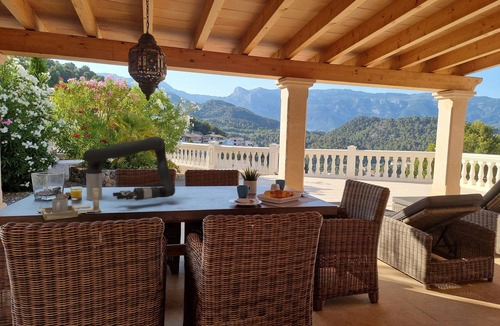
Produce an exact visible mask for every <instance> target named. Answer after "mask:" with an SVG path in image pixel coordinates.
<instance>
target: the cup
mask: <svg viewBox="0 0 500 326" xmlns="http://www.w3.org/2000/svg"><path fill="white" fill-rule="evenodd" d="M68 200H69V199H68V198H67V197H55V198H52V199H51V202H52V203H51V205H52V206H51V207H52V213H60V212H69V211H68V206H69V203H68V202H69V201H68Z"/></svg>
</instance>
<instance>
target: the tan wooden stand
mask: <svg viewBox="0 0 500 326" xmlns="http://www.w3.org/2000/svg"><path fill="white" fill-rule="evenodd" d="M74 206H75V205H73V204H71V205H69V204H68V212H60V213H51V212H52V206H50V207H42V208H41V209H42V213H41V215H42V214H43V215H42V217H43V219H44V221H53V220H60V219H62V220H63V219H67V218H68V219H69V218H78V217H79V214H78V213H86V214H88V213H87V212H95V213H99V212H98V211H101V212H102V209H100V200H99V188H94V189H93V200H92V208H85V209H76V208H75V207H74ZM46 213H48V214H46Z"/></svg>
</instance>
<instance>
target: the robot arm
mask: <svg viewBox="0 0 500 326" xmlns="http://www.w3.org/2000/svg"><path fill="white" fill-rule="evenodd" d="M149 151H154V154H155V157H156V167H157V169H156V170H157V174H158V179H159V182H160V183H162V185H163V186H159V187H158V186H144V187H142V186H141V187H135V188H133V191H132V190H120V191H118V192H113V193H112V197H116V199H117V200H123V199H124V200H127V201H128V200H135V201H143V200H144V201H145V200H150V199H158V198H169V197H172V196H174V195H175V193H176V186H175V184H174V182H173V179H172V178H171V172H170V170H169V165H168V160H167V153H166V142H165V140H164V139H163V138H162V137H160V136H155V135H154V136H149V137H146V138H143V139H140V140H133V141H126V142H120V143H117V144H113V145H109V146H106V147H102V148H95V147H94V148H88V149H87V150H85V151H84V153H83V155H82V158H83V160H84V161H85V162H87V163H88V166H87V168H85V169H86V172H85V176H86V177H85V178H86V200H88V201H93V189H94V188H99V201H100V200H102V199H103V168H104V160H109V159H120V158H121V159H122V158H126V157H131V156H134V155H136V154H140V153H141V152H149Z"/></svg>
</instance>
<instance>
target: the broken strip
mask: <svg viewBox="0 0 500 326" xmlns="http://www.w3.org/2000/svg"><path fill="white" fill-rule="evenodd" d="M73 206H74V207H75V208H76V209H77V210H81V209H80V208H85V209H91V205H90V204H83V205H82V204H80V205H73ZM37 210H38V211H37V213H38V212H42V208H41V209H40V208H39V209H37Z"/></svg>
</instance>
